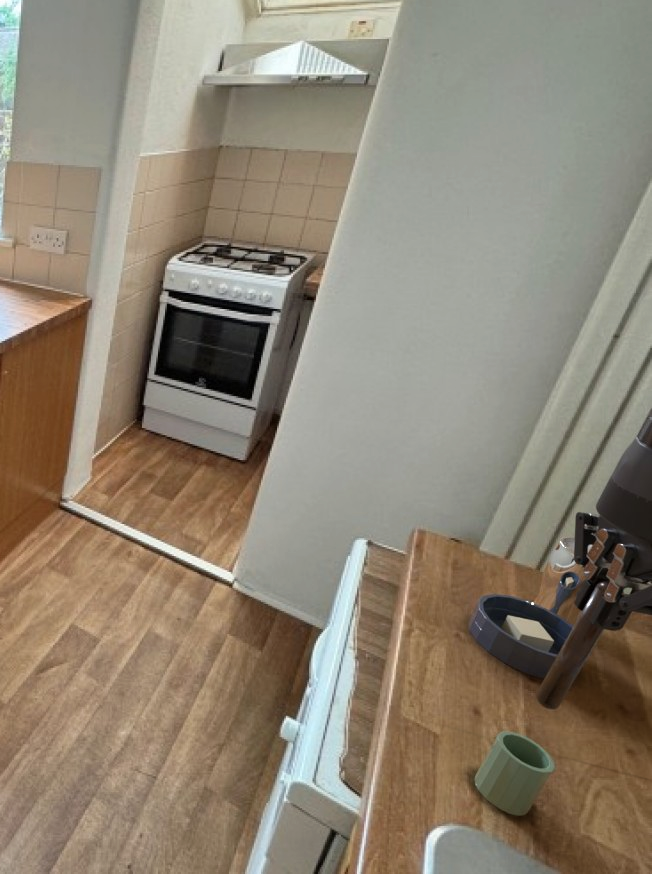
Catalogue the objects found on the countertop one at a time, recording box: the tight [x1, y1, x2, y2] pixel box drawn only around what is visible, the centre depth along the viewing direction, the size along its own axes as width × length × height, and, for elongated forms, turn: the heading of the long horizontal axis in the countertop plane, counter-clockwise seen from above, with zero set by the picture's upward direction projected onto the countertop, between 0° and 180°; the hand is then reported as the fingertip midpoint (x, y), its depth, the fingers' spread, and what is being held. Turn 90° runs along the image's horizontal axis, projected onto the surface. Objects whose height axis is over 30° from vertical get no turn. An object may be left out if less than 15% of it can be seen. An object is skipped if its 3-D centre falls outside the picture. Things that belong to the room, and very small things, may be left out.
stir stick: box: [535, 581, 625, 710], centre depth 69 cm, size 2×2×19 cm
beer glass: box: [531, 536, 609, 626], centre depth 99 cm, size 7×7×15 cm
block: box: [501, 615, 554, 652], centre depth 95 cm, size 4×4×4 cm
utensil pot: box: [474, 730, 556, 817], centre depth 74 cm, size 5×5×9 cm
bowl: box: [467, 593, 574, 680], centre depth 95 cm, size 13×13×6 cm
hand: (594, 617), depth 67 cm, fingers closed on stir stick, 2 cm apart
